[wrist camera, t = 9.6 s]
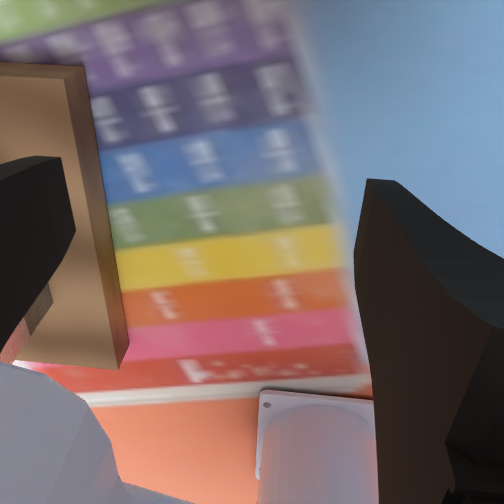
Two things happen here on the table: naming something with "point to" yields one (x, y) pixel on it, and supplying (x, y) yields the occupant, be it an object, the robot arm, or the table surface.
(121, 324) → the walnut stand
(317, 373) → the table surface
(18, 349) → the block
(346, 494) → the robot arm
